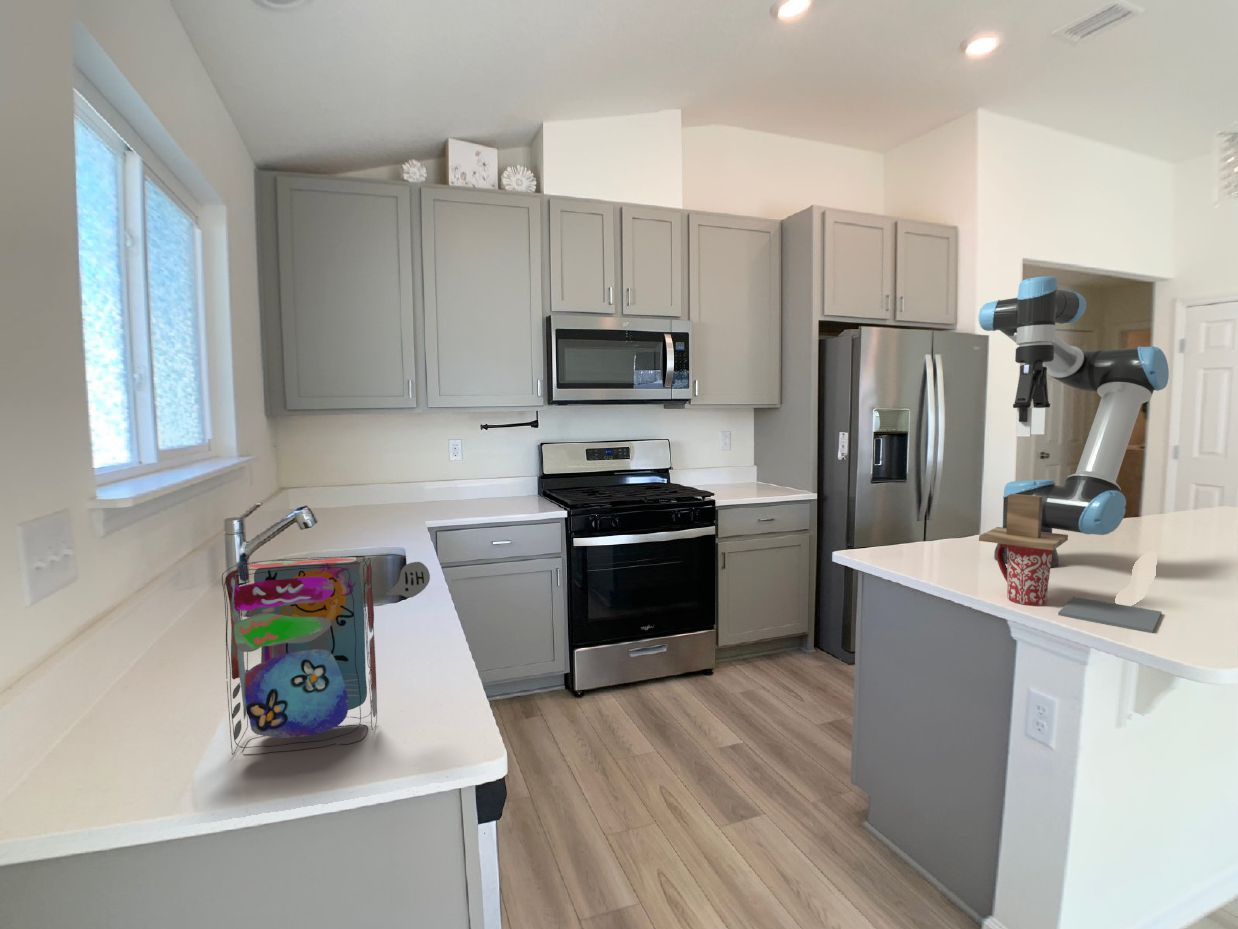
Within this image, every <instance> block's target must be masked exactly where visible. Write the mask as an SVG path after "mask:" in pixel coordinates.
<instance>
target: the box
mask: <svg viewBox="0 0 1238 929" xmlns="http://www.w3.org/2000/svg"><path fill="white" fill-rule="evenodd" d="M357 558H358V559H361V558H363V559H362V561H359V560H357ZM366 559H367V560H366ZM365 560H366V561H365ZM368 560H369V561H371V558H370V557H368V558H366V557H365V556H363V555H352V556H349V555H348V556H344V557H337V556H328V557H327V556H323V557H319V556H318V557H316V558H312V559H307V557H300V558H299V557H295V558H292V559H288V558H283V559H282V558H281V559H276V560H275V559H270V560H269V559H268V560H267V561H266V560H261V561H258V562H257V561H252V562H251V561H250V562H246V563H245V564H242V565H238V564H236V565H233V566H231V567H229V568H228V569H226V570H225V571H224V572H222V574H221V585H222V589H223V590H222V591H223V597H224V600H225V601H224V609H225V610H224V614H225V615H224V616H225V617H226V619H225V653H226V656H225V657H226V658H225V659H226V661H225V664H226V665H225V666H226V671H225V672H226V678H228V664H229V665H230V666H229V683H228V682H226V690H227V691H226V692H227V695H229V693H230V697H232V699H234V700H235V699H236V698H237V696H238V695H239V692H240V691H241V698H242V706H243V710H242V711H243V720H245V719H246V723H247V724H246V725H247V726H246V729H245V731H244V733H243V734H242V736H241V738H240V739H239V741H238V743H237V742H236V740H237V739H238V738H239V736H240V734H241V731H242V725H243V724H242V720H241V718H240V719H239V720H238V721H237V722H236V723H235V726H234V725H232V728H231V725H229V733H230V738H232V734H233V740H234V743H235V744H236V747H235V750H234V751H233V752H232V753H231V755H232V756H234V754H236V751H237V750H238V747H239V748H241V749H242V750H241V752H240V754H242V755H243V756H256V755H257V756H258V755H259V753H246V754H245V753H243V752H244V751H245V749H251V748H258V747H263V748H265V747H266V748H268V747H269V748H271V747H273V745H254V746H248V747H247V745H248V743H249V741H251V740H253V739H257V738H262V737H270V738H271V737H272V738H279V739H284V738H285V739H287V738H298V737H299V738H301V737H309V736H310V737H311V736H313V735H317V734H320V733H324V732H327V731H330V730H333V729H335V728H338V727H339V728H340V727H341V728H342V727H343V725H341V724H342V723H344V720H345V719H346V718H347V717H348V716H347V715H348V713H349V711H350V710H354V709H356V708H358V707H361V706H362V705H363V704H364V703H365V702H366V701H367V700H366V699H367V697H368V690H369V691H370V693H369V700H370V701H369V703H370V712H369V714H368V715H366V716H363V717H362V710H361V708H359V712H360V713H359V715H360V716H359V717H356V716H351V718H352V719H353V718H355V719H359V723H358V724H357V727H356V728H355V729H354V730H352V731H350V732H348V733H345V734H341V735H338V736H333V737H331V738H327V739H323V740H320V742H323V741H329V740H332V739H335V738H339V737H343V736H346V735H348V734H349V735H350V734H352V733H353V732H355V731H356V730H357V729H358V728H359V727H360V726H364V727H366V734H365V735H364V737H363V738H362V739H360V740H357V741H355V742H350V743H341V746H342V745H343V746H344V745H347V746H348V745H353V744H356V743H359V742H361V741H363V740H364V739H365V737H367V735H368V734H367V733H368V732H369V731H368V729H369V727H368V725H366V724H361V721H362V719H364V718H367V717H369V716H370V725H371V730H372V731H374V730H375V729H376V726H377V722H378V695H377V694H378V692H377V690H378V689H377V688H378V687H377V669H376V668H377V664H376V650H375V649H376V644H375V641H376V640H375V628H374V627H375V626H374V623H375V608H374V597H373V589H372V588H373V587H372V578H373V577H372V576H373V570H372V565H371V562H369V563H367V562H368ZM361 563H364V565H363V566H362V574H363V576H365V580H364V581H363V589H362V583H361V574H360V571H361V570H360V569H361ZM245 565H248V567H249V569H247V568H246V571H254V572H253V573H252V575H253V582H252V583H248V584H247V583H246V576H250V575H251V573H247V574H245V570H244V566H245ZM364 566H366V573H365V569H364V568H365V567H364ZM235 567H237V568H236V569H234V570H232V571H230V572H229V573H228V574H227V575H226V577H225V579H224V578H223V575H224V574H225V573H226V572H228V571H229V570H230V569H233V568H235ZM239 569H241V570H242V573H243V574H240V572H239ZM241 576H243V578H244V579H243V580H244V584H243V585H241V586H240V577H241ZM398 578H399V579H398V582H397V583H396V584H395V585H394V586H393V587H392V588H391V589H390V590H388V591H387V592H384V594H385V595H386V596H388V597H392V596H393V597H394V596H398V595H399V596H402V597H404V598H409V599H410V598H414V597H415V596H417V595H419V594H420V593H421V592H423V591H424V590H425V589H426V587H427V586H428V585H429V583H430V580H431V573H430V572H429V569H428V567H427V566H426V565H425V564H424V563H423V562H421V561H414V562H413V561H412V562H409V563H407V564H405V565H404V566H403V567H402V569H401V570H400V574H399V577H398ZM223 580H225V581H223ZM366 585H367V586H368V589H367V591H365V588H366ZM369 586H370V587H369ZM365 596H366V597H365ZM228 601H229V604H228ZM366 603H367V604H366ZM366 605H367V606H366ZM256 608H257V614H255V615H254V614H253V615H252V616H248V617H247V618H243V612H249V611H252V610H254V609H256ZM229 610H230V611H229ZM365 611H366V612H365ZM229 612H230V626H231V629H230V630H231V632H230V633H231V635H230V638H231V639H230V651H229V646H228V645H229V644H228V628H229V627H228V623H229ZM367 628H368V632H369V633H370V634H371V633H372V636H371V638H368V636H369V635H368V634H369V633H366V631H367ZM259 649H261V650H260V652H261V660H260V663H258V664H256V665H254V666H253V667H251V668H249V666H248V664H249V662H248V661H249V653H251V652H255V651H257V650H259ZM366 649H369V650H367V651H366ZM229 652H230V653H229ZM244 652H245V653H246V667H245V656H244V655H245V654H244ZM366 657H367V660H366ZM366 661H367V663H368V664H367V667H368V668H369V672H368V675H369V681H368V684H367V675H366V674H367V673H366V668H367V667H366ZM236 679H239V681H240V682H239V683H238V684H237V685H236V686H235V688H233V691H232V688H231V686H232V683H231V682H232V681H231V680H236ZM367 685H368V686H369V688H368V686H367ZM232 702H233V701H229V696H227V705H228V706H227V708H228V709H230V711H228V719H229V724H234V719H235V718H236V717H237V715H238V713H239V712H240V710H241V701H240V702H238V703H237V704H236V705H235V706H234V707H233V706H232ZM230 712H231V713H230ZM373 718H376V720H375V725H374V728H373V720H372V719H373ZM231 722H232V723H231ZM249 723H250V729H251V731H252V733H254V734H256V735H257V736H256V737H252V738H250V739H249V740H248V741H246V743H245V744H244V746H241V745H240V742H241V741H242V739H243V737H244V735H246V731H247V730H248V728H249ZM350 726H351V727H353V726H356V724H351V725H349V724H348V725H346V727H350ZM232 732H233V733H232ZM313 742H314V743H315V742H318V740H313V741H312V740H311V741H310V743H313ZM304 743H307V744H308V741H299V742H296V744H304ZM293 744H295V742H290V743H284V744H277V745H274V747H279V746H280V747H281V746H287V745H293ZM334 745H335V743H332V744H327V745H324V746H318V747H316V749H321V748H326V747H330V746H334ZM230 747H231V750H233V742H232V739H230ZM312 749H315V747H310V748H309V747H308V748H301V749H293V750H291V752H296V751H304V750H312ZM283 752H284V753H285V752H287V753H288V752H289V750H279V751H278V750H277V751H276V753H283ZM270 753H271V754H272V753H274V751H269V752H264V753H263V752H261V753H260V755H264V754H270Z"/></svg>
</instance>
